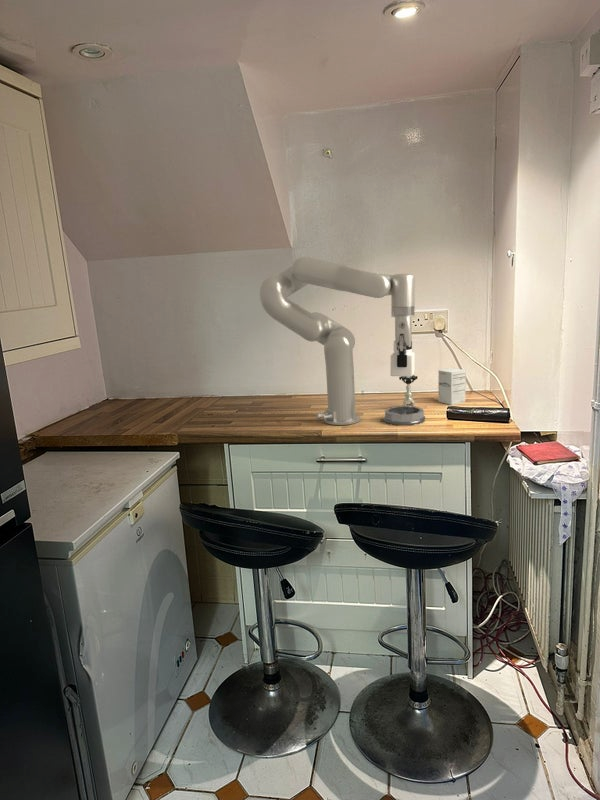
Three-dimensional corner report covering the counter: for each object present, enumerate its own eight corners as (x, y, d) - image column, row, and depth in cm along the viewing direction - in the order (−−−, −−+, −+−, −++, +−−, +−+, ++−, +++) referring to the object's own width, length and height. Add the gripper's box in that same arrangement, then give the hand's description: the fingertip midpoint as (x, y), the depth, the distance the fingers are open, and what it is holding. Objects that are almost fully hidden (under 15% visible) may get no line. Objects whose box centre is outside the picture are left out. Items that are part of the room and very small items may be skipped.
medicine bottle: (414, 373, 196) (414, 337, 194) (411, 376, 190) (412, 340, 187) (393, 372, 198) (393, 337, 196) (390, 376, 192) (390, 340, 189)
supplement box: (437, 402, 221) (437, 369, 218) (452, 399, 224) (452, 367, 221) (451, 405, 214) (451, 372, 212) (466, 402, 218) (466, 369, 215)
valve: (417, 405, 217) (416, 374, 214) (418, 410, 211) (418, 377, 208) (399, 406, 218) (398, 375, 215) (400, 410, 211) (399, 378, 209)
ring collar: (400, 427, 188) (399, 417, 188) (375, 419, 201) (375, 409, 200) (433, 420, 194) (433, 410, 194) (408, 413, 207) (407, 403, 206)
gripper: (413, 313, 180) (413, 369, 184) (415, 309, 197) (414, 360, 201) (389, 314, 182) (389, 369, 186) (393, 310, 199) (393, 360, 202)
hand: (402, 364), depth 193 cm, fingers closed on medicine bottle, 7 cm apart
